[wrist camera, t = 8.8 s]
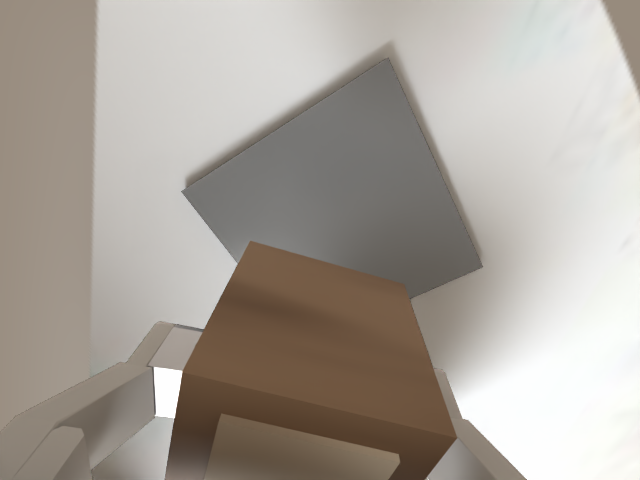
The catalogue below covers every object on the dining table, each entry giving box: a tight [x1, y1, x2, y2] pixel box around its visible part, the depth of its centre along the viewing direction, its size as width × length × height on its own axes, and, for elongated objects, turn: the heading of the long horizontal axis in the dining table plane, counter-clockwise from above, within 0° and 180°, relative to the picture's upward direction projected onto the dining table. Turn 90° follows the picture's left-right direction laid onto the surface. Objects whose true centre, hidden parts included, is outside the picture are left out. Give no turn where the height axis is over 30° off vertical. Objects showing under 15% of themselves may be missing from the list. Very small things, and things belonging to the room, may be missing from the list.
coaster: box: [181, 58, 483, 299], centre depth 21 cm, size 14×14×1 cm
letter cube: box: [165, 241, 457, 480], centre depth 9 cm, size 5×5×5 cm
